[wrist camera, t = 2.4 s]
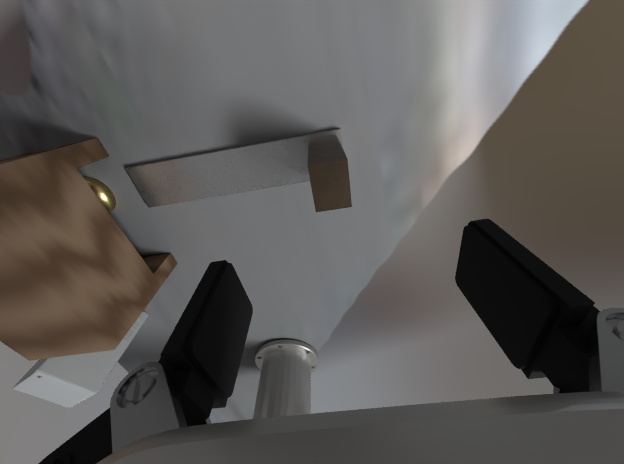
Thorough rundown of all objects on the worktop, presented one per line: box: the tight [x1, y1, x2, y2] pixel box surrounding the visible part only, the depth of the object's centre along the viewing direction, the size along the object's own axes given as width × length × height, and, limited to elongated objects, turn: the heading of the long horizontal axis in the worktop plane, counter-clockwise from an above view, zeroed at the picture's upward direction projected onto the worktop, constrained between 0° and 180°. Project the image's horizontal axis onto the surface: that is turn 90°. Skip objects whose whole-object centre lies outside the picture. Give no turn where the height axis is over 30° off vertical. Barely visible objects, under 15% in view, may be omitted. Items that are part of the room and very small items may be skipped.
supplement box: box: [13, 311, 149, 408], centre depth 36 cm, size 7×7×13 cm
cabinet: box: [0, 138, 177, 360], centre depth 26 cm, size 19×10×14 cm, turn 11°
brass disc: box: [82, 176, 116, 213], centre depth 29 cm, size 5×5×2 cm
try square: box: [125, 128, 352, 212], centre depth 24 cm, size 5×24×10 cm, turn 100°
